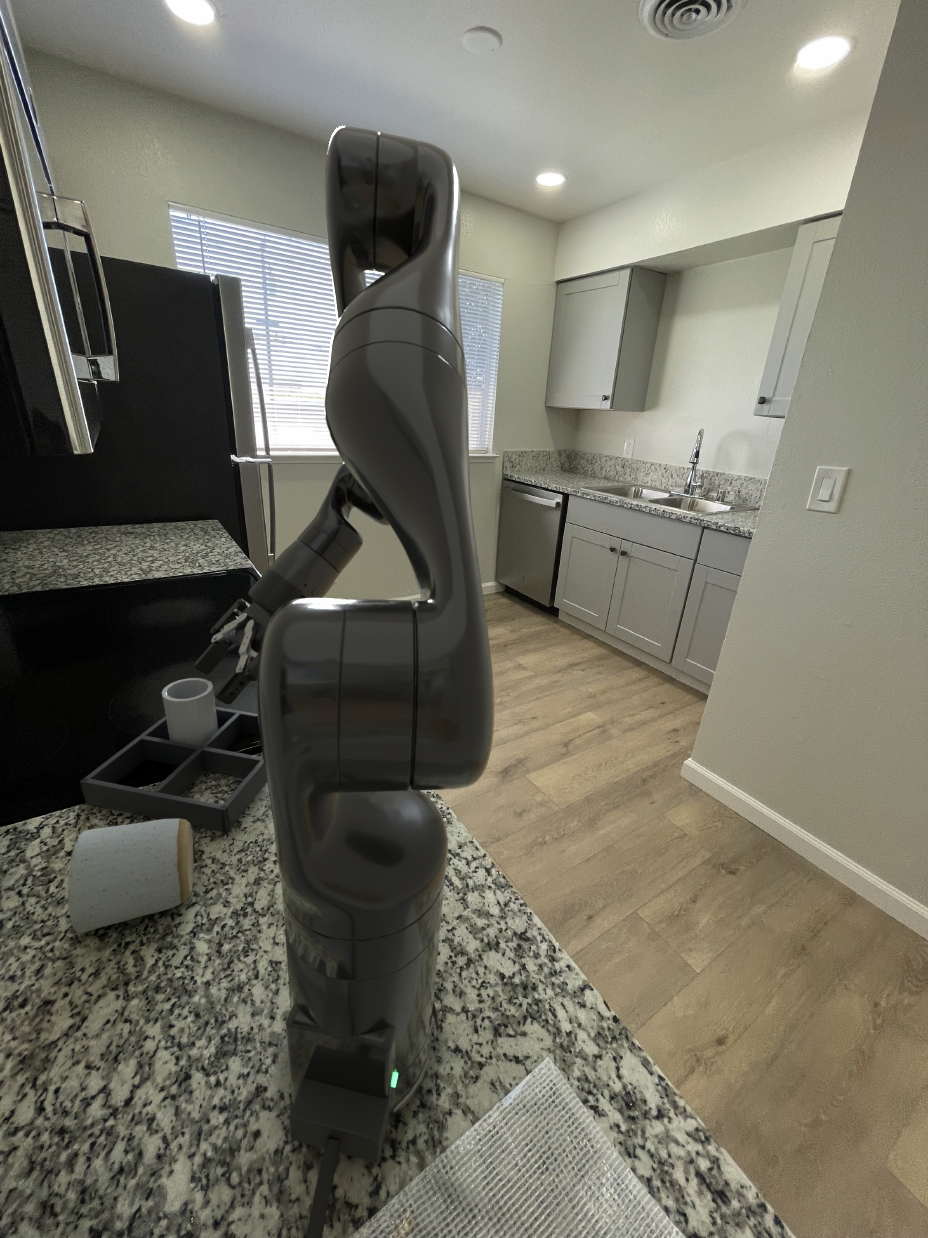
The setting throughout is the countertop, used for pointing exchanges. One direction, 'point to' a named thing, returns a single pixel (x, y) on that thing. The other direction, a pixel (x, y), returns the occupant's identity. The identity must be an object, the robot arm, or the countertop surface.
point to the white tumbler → (190, 711)
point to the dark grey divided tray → (182, 774)
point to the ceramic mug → (129, 872)
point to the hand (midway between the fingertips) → (210, 685)
